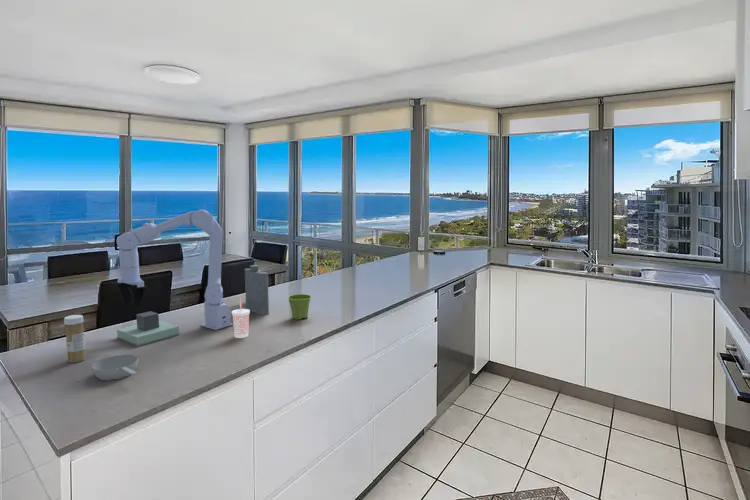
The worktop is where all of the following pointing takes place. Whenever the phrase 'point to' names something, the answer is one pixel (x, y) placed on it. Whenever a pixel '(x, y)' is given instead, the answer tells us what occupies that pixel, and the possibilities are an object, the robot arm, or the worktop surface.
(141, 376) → the worktop surface
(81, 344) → the sprinkles bottle
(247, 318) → the beverage cup
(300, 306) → the plant pot
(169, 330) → the socket block
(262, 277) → the hip flask
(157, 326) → the plug
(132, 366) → the small pan
